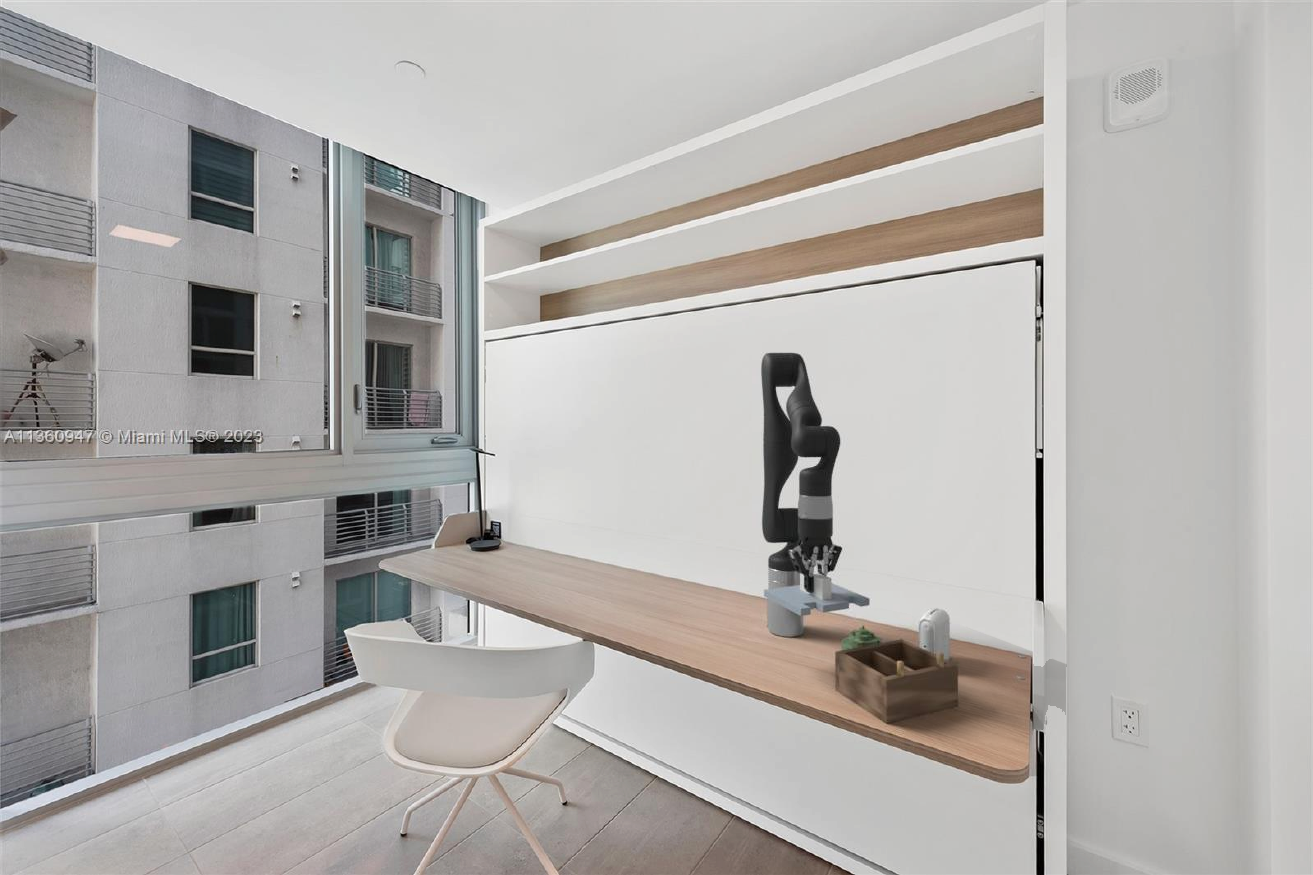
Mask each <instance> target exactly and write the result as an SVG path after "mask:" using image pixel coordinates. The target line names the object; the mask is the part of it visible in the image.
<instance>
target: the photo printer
mask: <svg viewBox="0 0 1313 875" xmlns="http://www.w3.org/2000/svg"><path fill="white" fill-rule="evenodd" d="M950 623H951V622H950V616H949V614H948V612H947V611H946V610H945V609H940V608H938V607H935V608H932V609H929V610H927V611H926V612H924V614H923V615H922V616H921V618H920V620H919V623H918V647H920V648H922V649H924V650H926V651H929V652H931V653H933V654H935V655H937V653H942V654H944V659H946V660H949V661H950V657H951V656H950V655H951V652H950V651H951V649H950V648H951V643H950V641H951V639H950V638H951V631H950V628H951V627H950V626H951V625H950Z"/></svg>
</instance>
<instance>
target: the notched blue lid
mask: <svg viewBox="0 0 1313 875" xmlns="http://www.w3.org/2000/svg"><path fill="white" fill-rule="evenodd" d="M813 577H814V592H813V593H809V592H807V591H806V590H805V589H804V575H803V574H801V573H800V585H796V586H789V587H781V588H774V589H769V588H768V589H767V588H766V589H763V597H764V598H766V599H767V598H768V599H770V600H772V601H774V602H776V603H778V604H779V605H781V606H783V607H785V608H787V609H789V610H791V611H792V612H794V613H796V614H798V615H800V616H809V615H811V610H817V611H819V612H820V613H827V612H828V613H829V612H835V611H842V610H848V609H850V604H854V605H855V606H858V607H862V608H863V607H867V606H870V603H871V602H870V598H869V597H868V596H865V595H861V594H859V593H858V592H855V591H852V590H850V589H847V588H844V587H843V586H839V585H838V584H834V583H833V582H832V577H829V576H828V575H827V576H824V575H822V574H819V573H818V572H817V571H814V574H813Z"/></svg>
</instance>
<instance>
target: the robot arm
mask: <svg viewBox="0 0 1313 875" xmlns="http://www.w3.org/2000/svg"><path fill="white" fill-rule="evenodd" d="M760 367H761V369H760V371H761V372H760V373H761V375H760V376H761V388H762V390H761V391H762V401H763V404H762V405H763V435H762V436H763V438H762V439H763V441H762V442H763V444H762V445H763V446H762V448H763V449H762V451H763V452H762V453H763V483H764V484H763V499H762V500H763V502H762V503H763V504H762V515H761V516H762V517H761V529H762V536H763V538H764V540H765V541H766V542H767V543H771V544H781V543H782V544H783V543H786V545H785V546H784V547H783V548H782V549H780V550H778V551H775V553H772V554H771V555H770V556H769V557H768V560H767V561H768V562H767V563H768V564H767V566H768V567H767V568H768V572H767V573H768V574H767V575H768V581H767V582H768V589H774V588H781V587H789V586H796V585H800V573H801V574H803V575H804V589H805V590H806V591H807V592H809V593H813V592H814V577H813V574H814V572H815V567H816V572H817V573H819V574H822V575H824V576H827V577H828V573H830V572H833V571H835V569H836V566H837V563H838V561H839V558H840V555H841V553H842V550H843V548H842V546H840V545H837V544H834V543H833V540H832V537H833V533H834V528H833V527H834V520H833V519H834V518H833V517H834V505H833V496H832V493H833V492H832V489H833V488H832V487H833V486H832V485H833V484H832V482H833V481H832V480H833V473H834V468H835V464H836V462H837V461H836V460H837V457H838V454H839V451H840V447H841V435H840V432H839V431H838V430H837V429H836V427H834V426H831V425H830V426H829V425H822V423H823V417H822V415H821V412H820V411H819V408H818V406H817V404H816V402H815V400H814V398H813V394H812V390H811V385H810V379H809V375H808V370H807V366H806V363H805V360H804V358H803V356H802V355H801V354H799V353H797V352H766V353H765V354H764V355H763V356H762V360H761V366H760ZM791 387H794V389H793V390H792V391H791V392H790V394H789V395H788V398H787V400H786V406H785V408H786V409H785V410H786V413H785V411H784V410H783V407H782V406H781V404H780V401H779V398H778V393H777V388H791ZM799 457H800V458H820V459H819V461H818V463H817V464H816V465H813V466H810V467H806V468H802V469H801V470H800V472H799V474H798V482H799V483H798V484H799V485H798V486H799V487H798V489H799V490H798V494H799V495H798V502H797V507H780V508H779V505H780V504H779V503H780V498H781V493H782V490H783V488H784V486H785V485H786V483H787V481H788V479H789V477H790V476H791V474H792V473H793V472H794V470H795V468H796V466H797V463H798V460H799ZM804 616H805V615H804ZM804 616H800V615H798V614H796V613H794V612H792V611H791V610H789V609H787V608H785V607H783V606H781V605H779V604H778V603H776V602H774V601H772V600H770V599H768V598H766V624H767V625H766V626H767V627H768V631H769V632H770V633H771V634H774V635H776V636H781V637H790V638H791V637H798V636H802V635H803V634H804Z"/></svg>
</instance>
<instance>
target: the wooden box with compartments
mask: <svg viewBox="0 0 1313 875" xmlns="http://www.w3.org/2000/svg"><path fill="white" fill-rule="evenodd" d="M834 658H835V659H834V660H835V661H834V662H835V663H834V665H835V667H834V668H835V669H834V670H835V674H834V678H835V680H834V682H835V683H834V684H835V688H834V689H835V691H836V692H838V693H839V694H841V695H842V696H844V697H845V698H846V699H848V700H850V701H851V702H853V703H855V704H856V705H857V706H859V707H861V708H862V709H863V710H865V712H866V711H867V712H868V713H870V714H871V715H872V716H874V717H875V718H877V719H879V720H880V721H882V722H883V723H885V724H886V725H887V724H891V723H895V722H899V721H903V720H907V719H911V718H915V717H919V716H923V715H926V714H930V713H933V712H934V713H935V712H938V711H941V710H947V709H950V708H953V707H956V706H959V664H957V663H955V662H953V661H951V660H950V659H949V660H946V659H944V654H942V653H937V655H935V654H933V653H931V652H929V651H926V650H924V649H922V648H920V647H919V645H918V646H917V645H915V644H913V643H911V642H909V641H906V640H905V639H902V638H901V639H896V640H890V641H885V642H882V643H879V644H874V645H868V646H863V647H858V648H852V649H847V650H842V649H841V650H836V651H835V657H834Z"/></svg>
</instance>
